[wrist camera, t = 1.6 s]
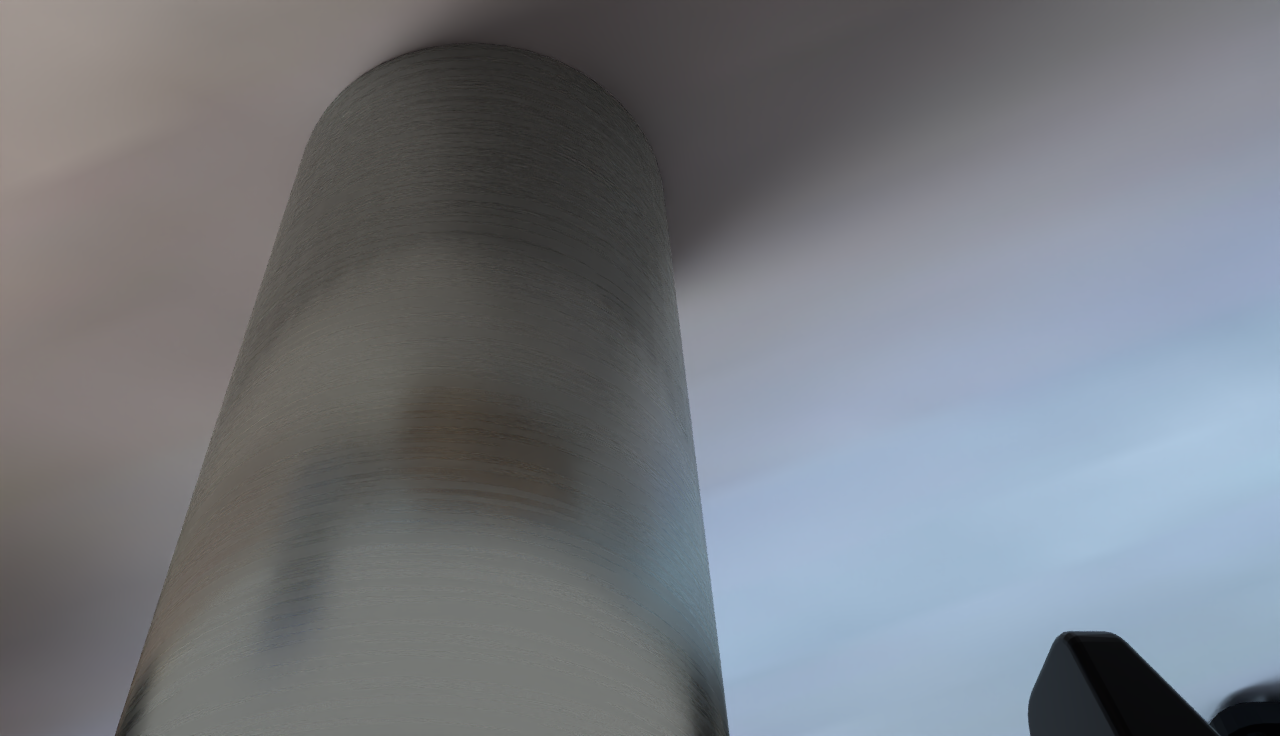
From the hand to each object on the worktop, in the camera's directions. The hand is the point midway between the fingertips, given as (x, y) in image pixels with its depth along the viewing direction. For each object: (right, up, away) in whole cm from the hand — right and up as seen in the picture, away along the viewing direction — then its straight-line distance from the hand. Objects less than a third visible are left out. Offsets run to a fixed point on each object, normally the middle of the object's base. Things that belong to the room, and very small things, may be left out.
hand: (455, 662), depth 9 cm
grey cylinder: (0, +4, +5) cm, 6 cm away
